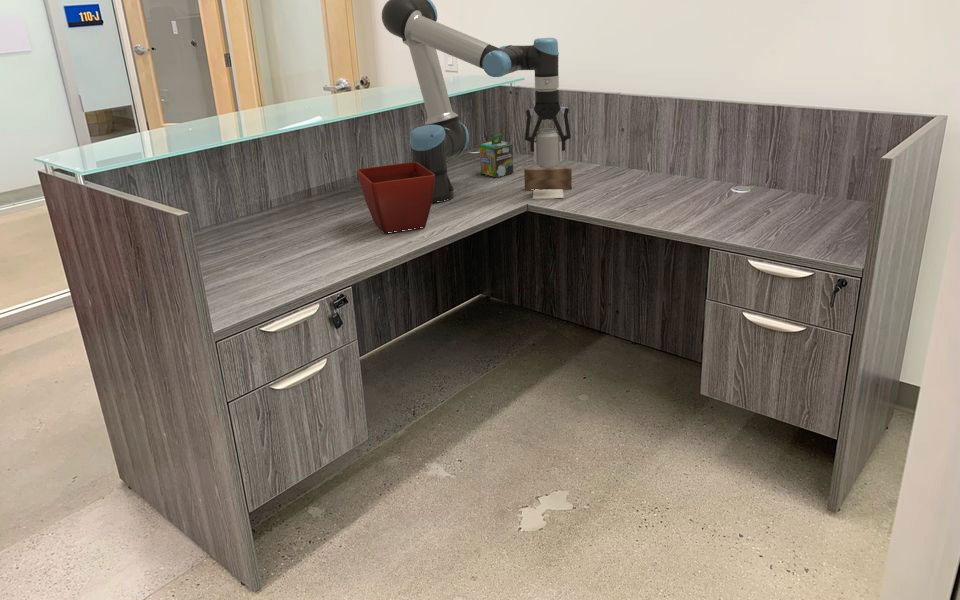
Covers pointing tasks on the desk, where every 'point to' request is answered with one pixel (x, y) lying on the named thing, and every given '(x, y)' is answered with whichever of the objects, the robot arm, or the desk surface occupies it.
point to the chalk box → (496, 157)
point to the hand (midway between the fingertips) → (548, 160)
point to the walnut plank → (548, 178)
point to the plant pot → (398, 195)
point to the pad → (548, 194)
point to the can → (547, 148)
